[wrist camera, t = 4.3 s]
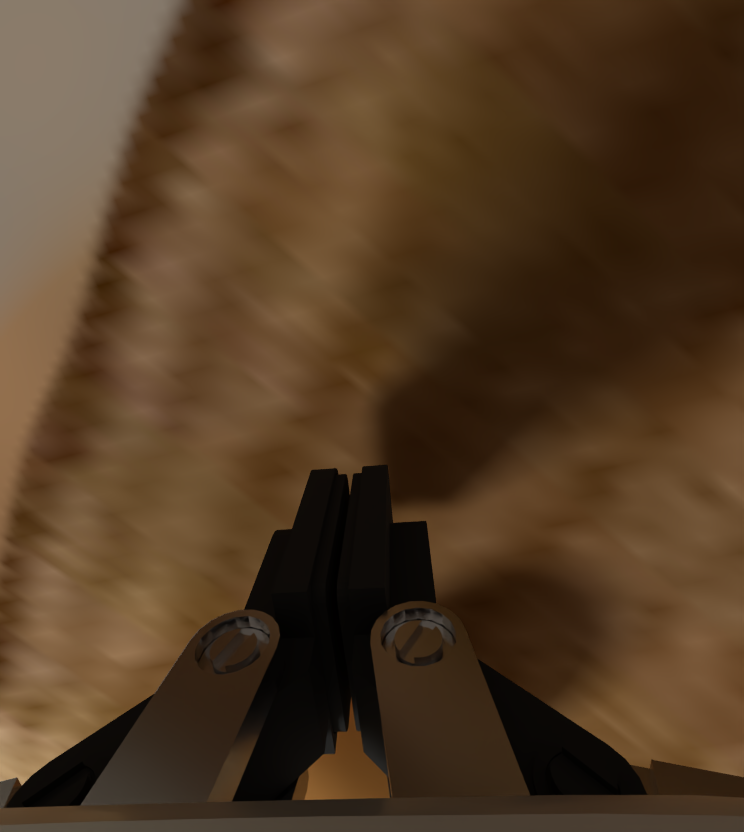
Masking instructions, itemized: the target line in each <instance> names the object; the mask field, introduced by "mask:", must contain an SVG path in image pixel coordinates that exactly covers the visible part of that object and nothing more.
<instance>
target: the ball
mask: <svg viewBox="0 0 744 832" xmlns="http://www.w3.org/2000/svg"><path fill="white" fill-rule="evenodd" d="M308 774H309V780H308V787H307V792H306V796H305V799H304V800H323V799H366V798H390V797H389V789H388V781H387V776H386V774H385V773H384V772H383V771H382V770H381V769H380V768H379V767H378V766H377V765H376V764H375V763H374V762H373V761H372V760H371V759H370V758H369V757H368V756H367V755H366V754H365V753H364V751H363V744H362V737H361V731H357V730H356V726H355V719H354V712H353V706H352V699H351V704H350V716H349V726H348V731H347V732H337V742H336V751H335V754H323V755H322V756H321V757H320V758H319V759H318V760H317V761H316V762H315V763H313V764H312V765H311V766H310V767H309V768H308Z"/></svg>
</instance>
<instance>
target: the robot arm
mask: <svg viewBox="0 0 744 832" xmlns="http://www.w3.org/2000/svg"><path fill="white" fill-rule="evenodd" d="M351 699H352V706H353V712H354V719H355V726H356V730H357V731H361V737H362V744H363V751H364V753H365V754H366V755H367V756H368V757H369V758H370V759H371V760H372V761H373V762H374V763H375V764H376V765H377V766H378V767H379V768H380V769H381V770H382V771H383V772H384V773H385V774H386V776H387V781H388V789H389V797H390V798H366V799H323V800H304V799H305V796H306V792H307V787H308V780H309V774H308V768H309V767H310V766H311V765H312V764H313V763H315V762H316V761H317V760H318V759H319V758H320V757H321V756H322V755H323V754H335V751H336V742H337V732H347V731H348V726H349V716H350V704H351ZM0 832H744V777H739V776H734V775H728V774H723V773H718V772H713V771H707V770H702V769H697V768H692V767H686V766H681V765H676V764H671V763H666V762H660V761H655V760H651V765H650V769H649V768H644V767H639V766H633V765H630V764H629V763H628V762H627V760H626V759H625V758H623V757H622V756H621V755H620V754H619V753H617V752H616V751H615V750H614V749H613V748H611V747H610V746H609V745H607V744H606V743H604V742H603V741H601V740H600V739H598V738H597V737H595V736H594V735H592V734H591V733H589V732H588V731H586V730H585V729H583V728H582V727H580V726H579V725H577V724H576V723H574V722H573V721H571V720H569V719H568V718H566V717H565V716H563V715H562V714H560V713H559V712H557V711H556V710H554V709H553V708H551V707H550V706H548V705H547V704H545V703H544V702H542V701H541V700H539V699H538V698H536V697H535V696H533V695H532V694H530V693H529V692H527V691H525V690H524V689H522V688H521V687H519V686H518V685H516V684H515V683H513V682H512V681H510V680H509V679H507V678H506V677H504V676H503V675H501V674H500V673H498V672H497V671H495V670H494V669H492V668H491V667H489V666H488V665H486V664H484V663H483V662H481V661H480V660H478V659H477V657H476V655H475V652H474V649H473V647H472V644H471V642H470V639H469V637H468V634H467V631H466V629H465V627H464V625H463V623H462V622H461V620H460V619H459V617H458V616H457V615H455V614H454V613H453V612H452V611H451V610H449V609H448V608H446V607H443V606H441V605H439V604H437V603H436V597H435V589H434V580H433V572H432V564H431V555H430V547H429V539H428V531H427V523H426V521H418V522H402V523H393V518H392V507H391V496H390V485H389V475H388V466H387V465H378V466H364V467H363V468H362V473H356V474H353V479H352V486H351V493H350V494H349V486H348V478H347V475H346V474H341V475H338V471H337V468H334V469H320V470H312V471H311V473H310V476H309V479H308V482H307V485H306V488H305V491H304V494H303V497H302V500H301V503H300V506H299V509H298V512H297V515H296V518H295V522H294V525H293V528H292V529H287V530H277V531H275V532H274V534H273V536H272V539H271V541H270V544H269V546H268V549H267V552H266V554H265V557H264V560H263V562H262V565H261V567H260V570H259V573H258V575H257V578H256V580H255V583H254V586H253V588H252V591H251V593H250V596H249V599H248V601H247V604H246V607H245V609H244V610H238V611H234V612H230V613H227V614H224V615H222V616H220V617H218V618H216V619H214V620H211V621H210V622H209V623H207V624H206V625H205V626H203V627H202V628H201V629H200V630H199V631H198V632H197V633H196V634H195V635H194V636H193V638H192V639H191V640H190V641H189V643H188V644H187V646H186V647H185V649H184V650H183V652H182V653H181V655H180V656H179V658H178V659H177V661H176V662H175V664H174V665H173V667H172V668H171V670H170V671H169V673H168V674H167V676H166V677H165V679H164V680H163V682H162V683H161V685H160V686H159V688H158V689H157V691H156V692H155V694H153V695H152V696H150V697H149V698H147V699H146V700H144V701H142V702H141V703H139V704H138V705H136V706H135V707H133V708H132V709H130V710H129V711H127V712H126V713H124V714H122V715H121V716H119V717H118V718H116V719H115V720H113V721H112V722H110V723H109V724H107V725H106V726H104V727H102V728H101V729H99V730H98V731H96V732H95V733H93V734H92V735H90V736H89V737H87V738H86V739H84V740H83V741H81V742H79V743H78V744H76V745H75V746H73V747H72V748H70V749H69V750H67V751H66V752H64V753H63V754H61V755H59V756H58V757H56V758H55V759H53V760H52V761H50V762H49V763H48V764H46V765H45V766H44V767H42V768H41V769H40V770H38V771H37V772H36V773H35V774H33V775H32V776H31V777H30V778H29V779H28V780H27V781H26V782H25V783H24V784H23V785H22V786H21V784H20V782H19V780H18V778H13V779H9V780H5V781H1V782H0Z"/></svg>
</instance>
